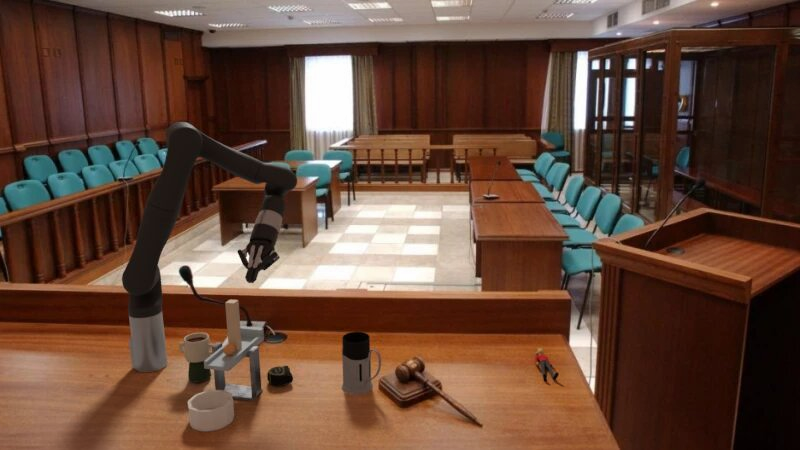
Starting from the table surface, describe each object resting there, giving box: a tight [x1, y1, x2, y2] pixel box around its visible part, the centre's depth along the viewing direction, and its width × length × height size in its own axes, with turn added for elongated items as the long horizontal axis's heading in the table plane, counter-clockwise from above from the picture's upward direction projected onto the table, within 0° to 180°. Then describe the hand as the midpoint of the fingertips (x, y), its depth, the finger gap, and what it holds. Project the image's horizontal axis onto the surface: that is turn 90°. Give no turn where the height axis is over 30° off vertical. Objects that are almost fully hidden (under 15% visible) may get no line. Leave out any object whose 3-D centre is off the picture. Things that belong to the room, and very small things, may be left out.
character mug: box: [178, 332, 215, 383], centre depth 182 cm, size 11×7×13 cm, turn 82°
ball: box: [223, 344, 235, 356], centre depth 169 cm, size 3×3×3 cm
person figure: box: [534, 347, 560, 382], centre depth 189 cm, size 5×4×18 cm
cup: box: [187, 389, 235, 433], centre depth 161 cm, size 11×11×6 cm
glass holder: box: [341, 331, 382, 395], centre depth 175 cm, size 9×14×15 cm, turn 44°
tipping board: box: [204, 298, 265, 372], centre depth 170 cm, size 9×20×16 cm, turn 166°
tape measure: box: [266, 365, 294, 387], centre depth 181 cm, size 7×7×4 cm
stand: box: [211, 341, 264, 402], centre depth 173 cm, size 12×6×14 cm, turn 76°
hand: (249, 281), depth 178 cm, fingers closed
